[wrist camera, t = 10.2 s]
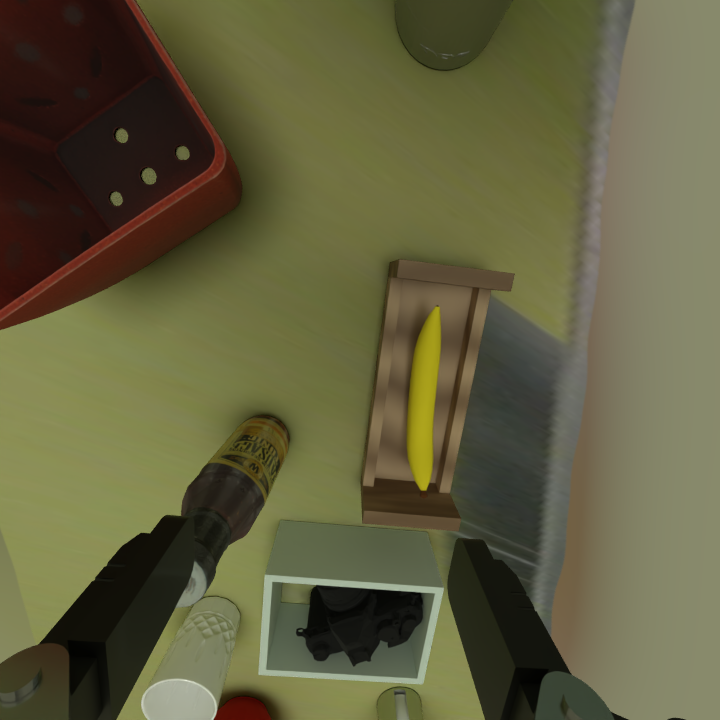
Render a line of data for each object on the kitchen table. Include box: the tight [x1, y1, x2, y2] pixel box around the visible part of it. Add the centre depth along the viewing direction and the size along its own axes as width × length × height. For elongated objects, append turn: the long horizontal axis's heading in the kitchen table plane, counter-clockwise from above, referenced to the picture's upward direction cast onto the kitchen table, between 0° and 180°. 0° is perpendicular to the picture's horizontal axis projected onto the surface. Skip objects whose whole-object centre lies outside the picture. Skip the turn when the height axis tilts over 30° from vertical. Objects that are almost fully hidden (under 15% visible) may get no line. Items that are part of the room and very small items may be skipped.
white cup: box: [141, 596, 240, 720], centre depth 41 cm, size 8×8×10 cm
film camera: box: [296, 585, 423, 667], centre depth 40 cm, size 15×10×9 cm, turn 110°
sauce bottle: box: [175, 415, 290, 608], centre depth 30 cm, size 7×6×20 cm
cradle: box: [361, 259, 515, 531], centre depth 35 cm, size 26×10×7 cm, turn 173°
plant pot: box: [0, 0, 242, 330], centre depth 25 cm, size 19×19×17 cm
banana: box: [407, 305, 441, 499], centre depth 35 cm, size 3×19×6 cm, turn 178°
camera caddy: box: [258, 520, 444, 684], centre depth 41 cm, size 14×19×8 cm
